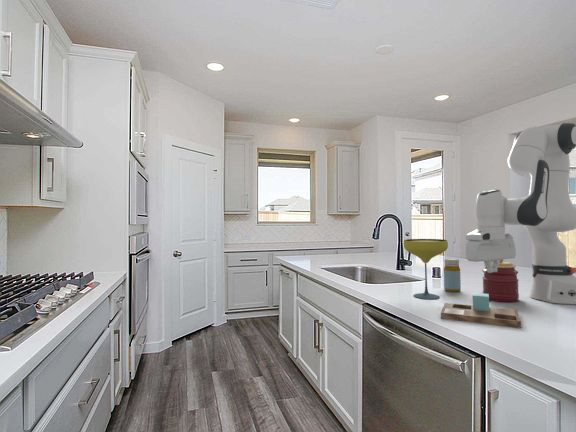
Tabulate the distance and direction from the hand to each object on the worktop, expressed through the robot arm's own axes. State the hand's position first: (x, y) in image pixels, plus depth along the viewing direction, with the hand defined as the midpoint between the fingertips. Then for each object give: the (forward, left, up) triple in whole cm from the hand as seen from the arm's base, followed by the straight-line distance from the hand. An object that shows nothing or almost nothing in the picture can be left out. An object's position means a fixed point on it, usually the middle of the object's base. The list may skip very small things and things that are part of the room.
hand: (492, 272), depth 122 cm
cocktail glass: (+25, -16, -15) cm, 33 cm away
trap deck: (+4, +8, -15) cm, 17 cm away
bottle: (+16, -34, -15) cm, 40 cm away
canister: (-3, -25, -15) cm, 29 cm away
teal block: (+4, +4, -13) cm, 14 cm away
